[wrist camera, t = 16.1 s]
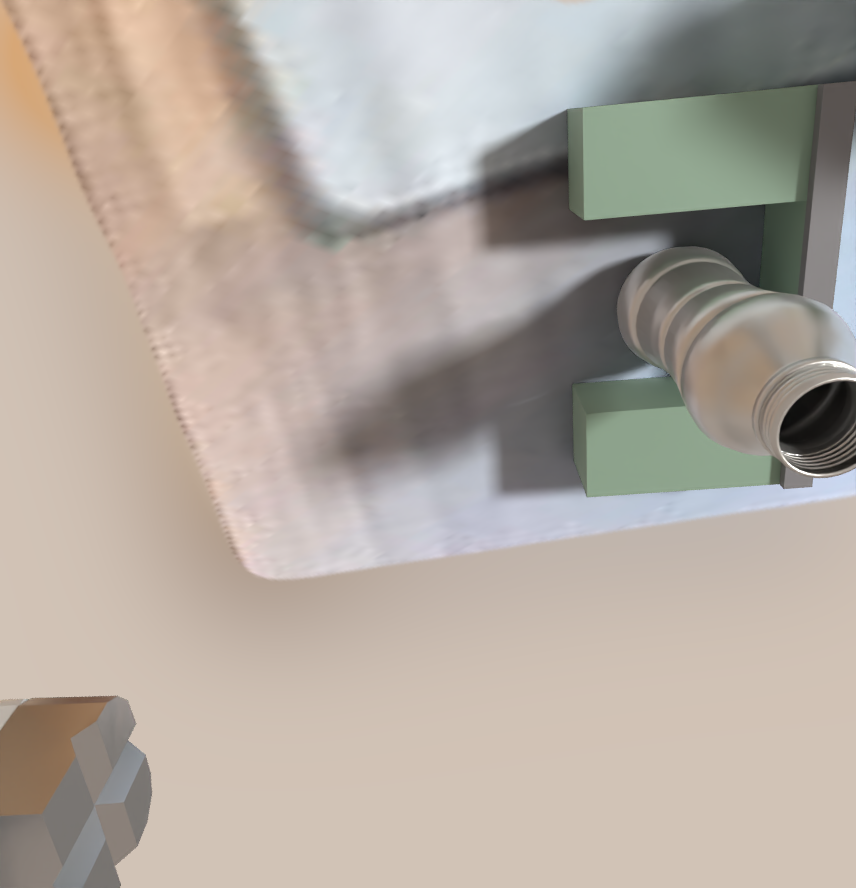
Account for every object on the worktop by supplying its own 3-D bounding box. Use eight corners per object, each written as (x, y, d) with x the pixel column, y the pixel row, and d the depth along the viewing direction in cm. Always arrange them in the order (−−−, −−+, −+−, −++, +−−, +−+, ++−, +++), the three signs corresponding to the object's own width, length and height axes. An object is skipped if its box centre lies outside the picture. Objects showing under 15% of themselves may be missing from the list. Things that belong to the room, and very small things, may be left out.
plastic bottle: (589, 278, 43) (694, 396, 25) (702, 215, 42) (904, 291, 23) (636, 373, 45) (766, 548, 27) (746, 317, 44) (963, 460, 25)
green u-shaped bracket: (567, 109, 40) (584, 107, 34) (804, 85, 39) (859, 80, 34) (573, 460, 47) (588, 502, 42) (771, 446, 47) (812, 486, 42)
